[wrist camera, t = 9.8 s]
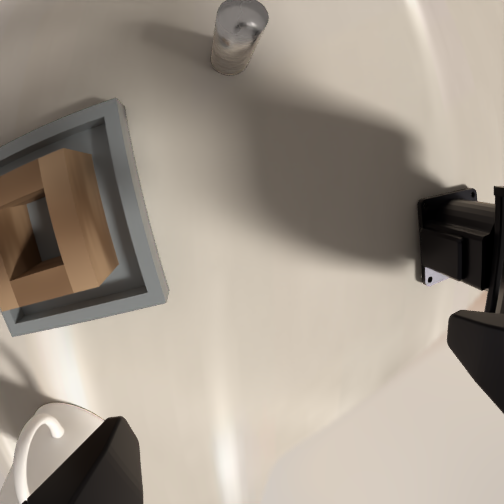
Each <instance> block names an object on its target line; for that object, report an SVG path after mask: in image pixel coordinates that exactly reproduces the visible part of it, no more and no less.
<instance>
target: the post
mask: <svg viewBox="0 0 504 504" xmlns="http://www.w3.org/2000/svg"><path fill="white" fill-rule="evenodd" d="M268 19H269V17H268V12H267V10H266V8H265V7H264V6H263V5H262V4H261V3H260V2H258V1H256V0H226V1H225V2H223V3H222V4H221V5H220V7H219V9H218V11H217V17H216V24H215V31H214V38H213V45H212V53H211V63H212V66H213V67H214V69H215V70H216V71H218V72H219V73H221V74H224V75H236V74H239V73H241V72H242V71H243V70H244V69H245V68H246V67H247V65H248V63H249V60H250V58H251V56H252V54H253V52H254V50H255V48H256V46H257V44H258V41H259V39H260V37H261V35H262V33H263V31H264V29H265V27H266V25H267V23H268Z"/></svg>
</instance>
